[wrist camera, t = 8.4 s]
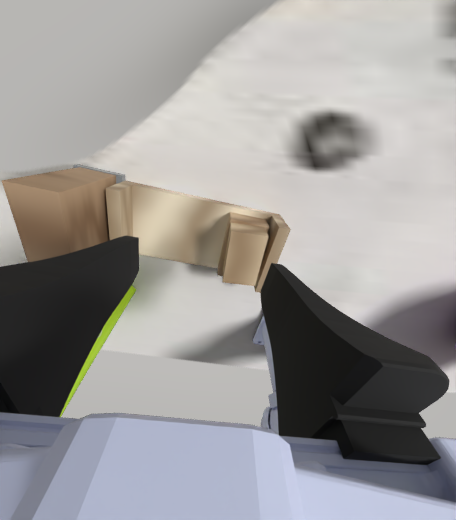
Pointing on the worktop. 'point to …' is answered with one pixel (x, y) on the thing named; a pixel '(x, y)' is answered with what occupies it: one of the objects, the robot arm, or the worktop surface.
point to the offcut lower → (232, 219)
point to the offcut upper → (244, 253)
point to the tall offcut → (60, 211)
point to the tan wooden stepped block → (184, 225)
